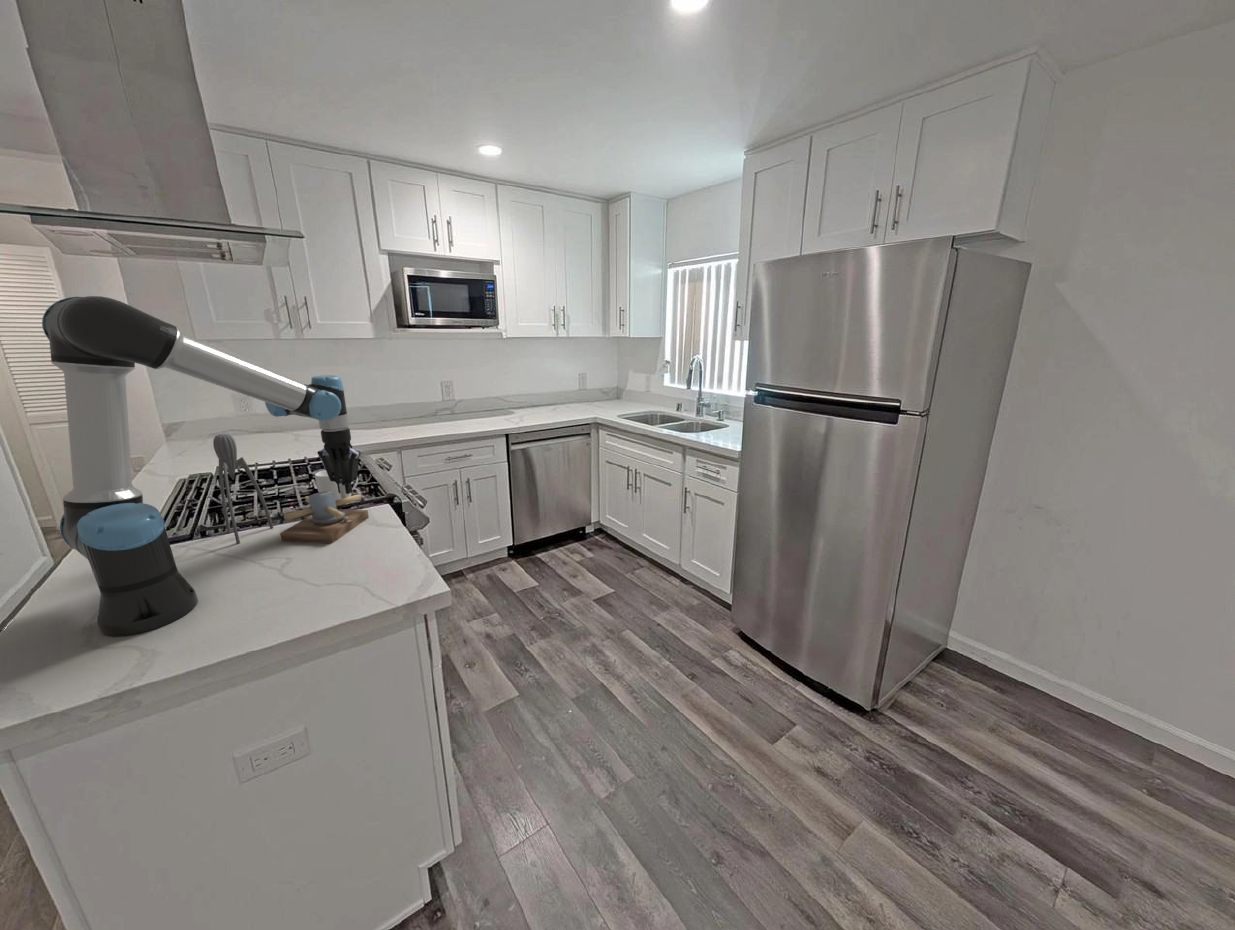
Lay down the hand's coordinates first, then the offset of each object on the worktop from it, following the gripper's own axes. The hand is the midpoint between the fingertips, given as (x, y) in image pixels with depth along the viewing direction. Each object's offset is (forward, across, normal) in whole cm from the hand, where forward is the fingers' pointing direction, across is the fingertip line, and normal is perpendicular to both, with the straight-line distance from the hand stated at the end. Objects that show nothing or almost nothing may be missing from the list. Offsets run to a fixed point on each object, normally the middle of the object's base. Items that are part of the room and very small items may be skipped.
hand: (347, 502), depth 148 cm
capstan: (+3, +1, +8) cm, 8 cm away
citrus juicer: (+6, +23, +15) cm, 28 cm away
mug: (+6, +12, -11) cm, 17 cm away
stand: (+5, +2, +8) cm, 10 cm away
